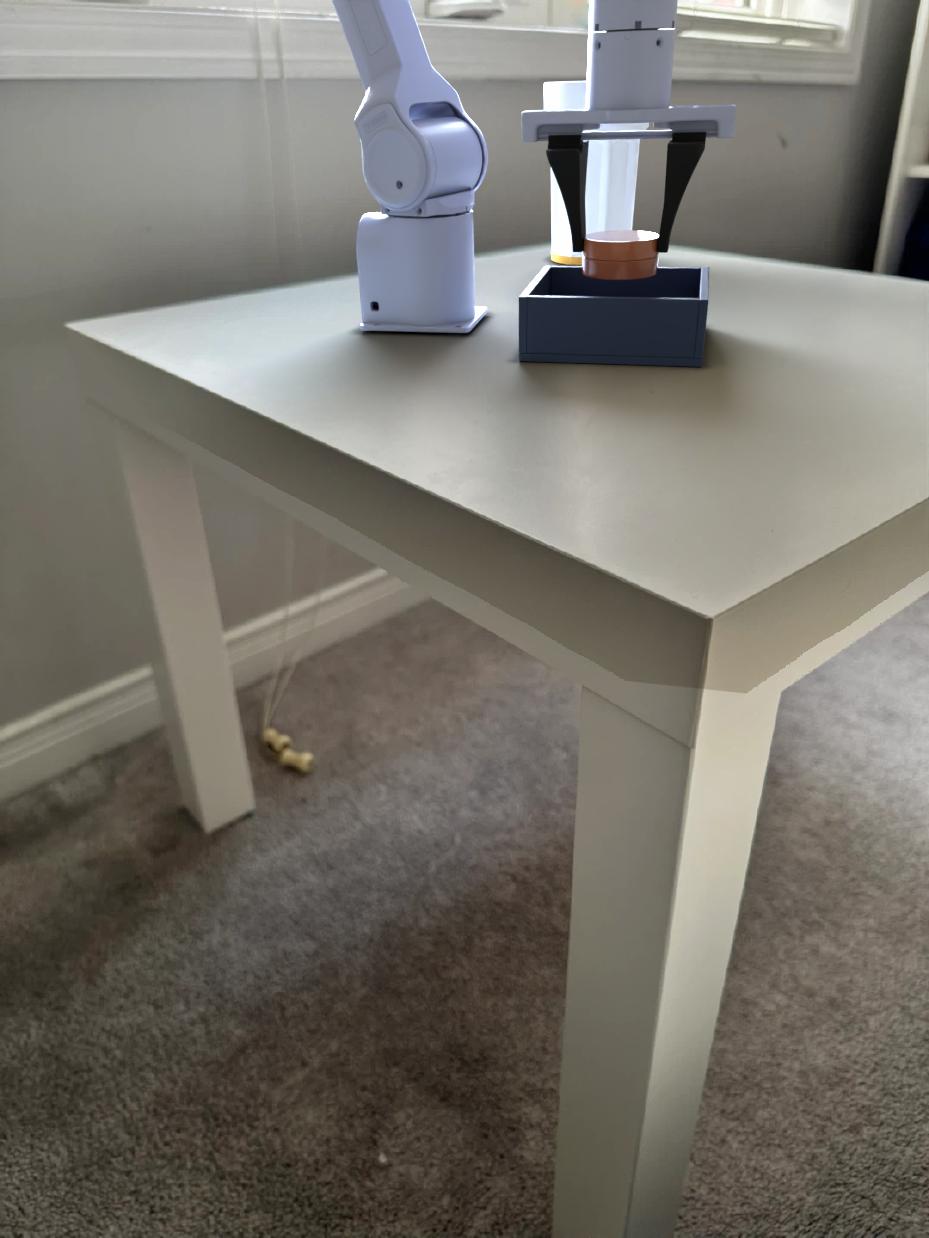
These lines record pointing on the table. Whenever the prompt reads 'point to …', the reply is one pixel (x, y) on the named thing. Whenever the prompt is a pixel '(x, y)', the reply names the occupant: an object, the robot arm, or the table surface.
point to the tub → (615, 318)
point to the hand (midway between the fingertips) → (620, 250)
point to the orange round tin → (620, 255)
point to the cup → (594, 176)
